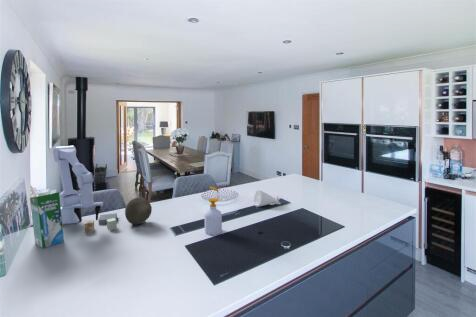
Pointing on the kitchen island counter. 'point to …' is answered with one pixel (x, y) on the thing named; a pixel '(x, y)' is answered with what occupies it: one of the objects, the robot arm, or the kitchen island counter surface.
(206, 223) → the soap bottle
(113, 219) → the sage block
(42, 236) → the milk carton
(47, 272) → the kitchen island counter surface
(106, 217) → the slate base
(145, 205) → the cantaloupe
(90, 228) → the oak block
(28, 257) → the kitchen island counter surface
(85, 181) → the robot arm
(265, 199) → the rocket engine
